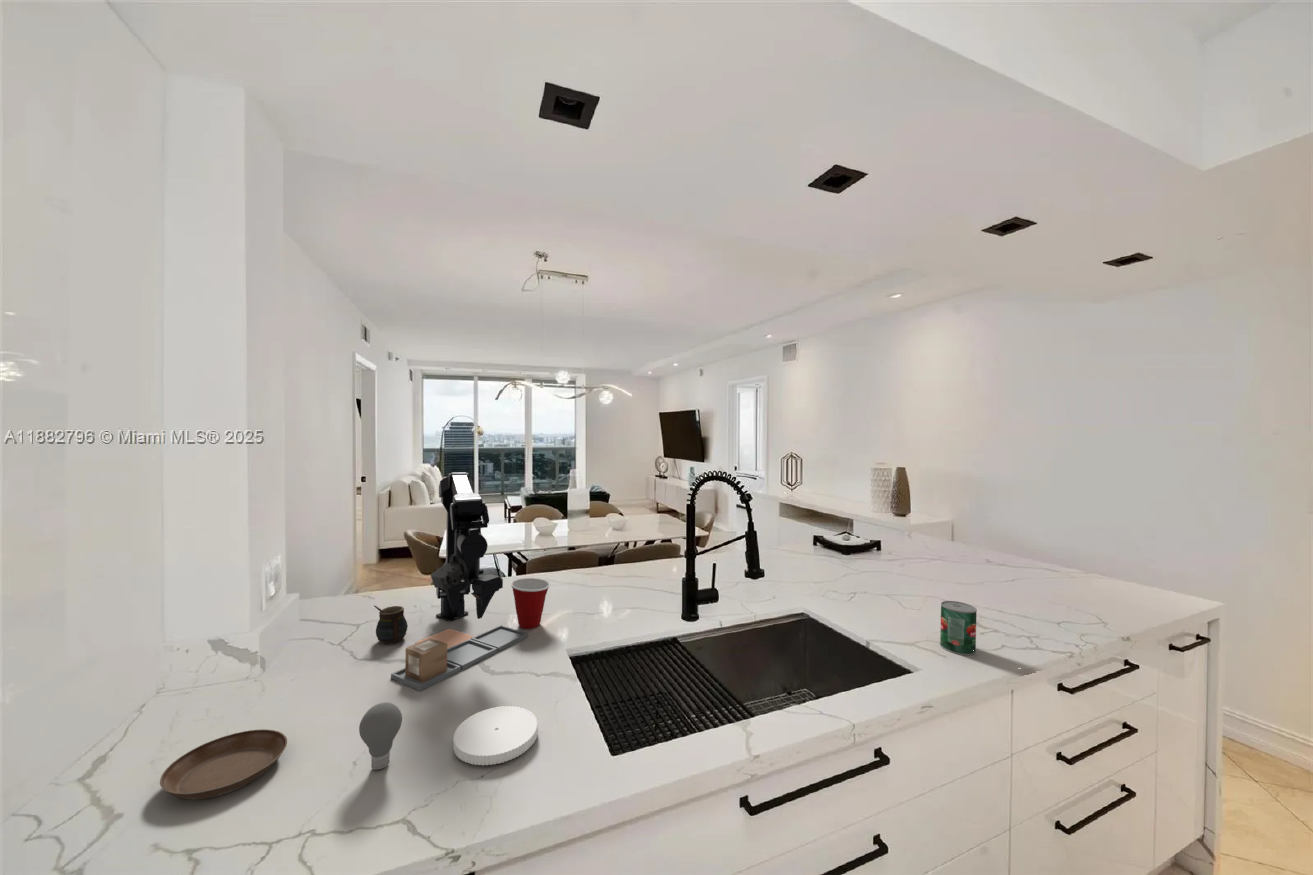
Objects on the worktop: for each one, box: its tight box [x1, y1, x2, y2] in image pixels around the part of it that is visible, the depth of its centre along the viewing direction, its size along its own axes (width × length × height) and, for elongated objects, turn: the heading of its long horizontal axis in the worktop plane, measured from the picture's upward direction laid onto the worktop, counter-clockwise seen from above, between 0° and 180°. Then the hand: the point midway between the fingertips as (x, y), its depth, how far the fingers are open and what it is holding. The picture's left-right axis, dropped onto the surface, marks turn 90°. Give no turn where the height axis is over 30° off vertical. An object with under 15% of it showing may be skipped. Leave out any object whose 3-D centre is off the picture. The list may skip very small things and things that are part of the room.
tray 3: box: [471, 624, 529, 652], centre depth 124 cm, size 10×10×1 cm
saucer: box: [159, 728, 288, 801], centre depth 75 cm, size 15×15×3 cm
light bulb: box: [358, 701, 403, 770], centre depth 77 cm, size 6×6×10 cm
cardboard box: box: [404, 638, 447, 682], centre depth 106 cm, size 6×6×6 cm
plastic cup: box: [510, 577, 552, 630], centre depth 134 cm, size 11×11×12 cm
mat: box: [414, 628, 474, 649], centre depth 123 cm, size 10×10×1 cm
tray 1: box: [390, 661, 462, 692], centre depth 106 cm, size 10×10×1 cm
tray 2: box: [447, 639, 498, 671], centre depth 115 cm, size 10×10×1 cm
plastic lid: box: [452, 705, 539, 766], centre depth 84 cm, size 14×14×2 cm
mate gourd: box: [373, 605, 409, 645], centre depth 122 cm, size 7×8×10 cm
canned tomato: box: [939, 600, 978, 656], centre depth 124 cm, size 8×8×11 cm
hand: (466, 614), depth 115 cm, fingers open, 9 cm apart
